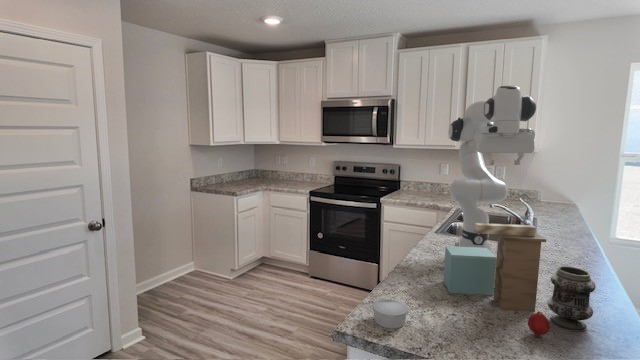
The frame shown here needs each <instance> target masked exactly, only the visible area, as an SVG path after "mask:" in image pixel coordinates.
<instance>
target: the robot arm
mask: <svg viewBox="0 0 640 360" xmlns="http://www.w3.org/2000/svg"><path fill="white" fill-rule="evenodd" d="M536 111H537V103H536V101H535V100H534V99H533V98H532V97H531V96H530V95H521V89H520V87H519V86H517V85H500V86H498V87H497V89H496V91H495V94H494V95H493V96H492V97H489V98H488V99H487V100H478V101H476V102H473V103H471V104H470V105H469V106H468V107H467V108H466V110H465V112H464V117H463V118H461V117H458V118H457V119H456V120H454V121H453V122H451V123H450V125H449V127H448V135H449V138H450V141H452V142H463V143H461V145H460V146H459V152H458V153H459V155H458V156H459V163H460V168H461V173H462V175H463V177H464V178H462V179H456V180H453V181H452V182H451V184H450V186H449V195H450V197H451V199H452V200H454V201H455V202H457V204H459V207H460V209H461V211H462V215H463V226H462V230H461V234H460V235H461V236H460V237H459V238H458V239H457V241H454V246H457V247H478V248H487V249H488V250H490V251H491V252H492V243H491V242H490V241H489V238H490V234H477V233H476V232H475V223H488V224H490V223H489V222H490V216H489V214H488V213H487V212H486V211H484V210H482V209H481V208H479V207H478V203H485V204H486V203H490V204H491V203H492V204H494V203H499V202H503V201H505V199H506V198H507V196H508V193H509V192H508V186H507V184H506V183H505V182H504V181H502V180H500V179H498V178H497V177H496V176H494V175H493V174H492V173H491V172H490V171H489V170H488V169H487V167H486V166H487V165H486V163H485V160H484V155H483V154H485V156H486V158H487V160H488V165H489V166H494V165H495V160H494V159H492V157H491V156H492V154H517V156H518V157H517V159H514V161H513V162H514V163H513V165H515V166H521V161H522V160H523V158H524V156H525V154H533V152H535V148H536V147H535V136H536V133H535V131H534V130H533V129H531V128H520V125H521V124H520V123H521V122H527V121H529V120H530V119H531V118H532V117H534V115H535V113H536Z"/></svg>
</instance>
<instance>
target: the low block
mask: <svg viewBox="0 0 640 360" xmlns="http://www.w3.org/2000/svg"><path fill="white" fill-rule="evenodd" d="M444 250H445V252H444V268H443V269H444V270H443V284H445V286H446V289H447V291H448V292H449V294H464V295H465V294H466V295H478V296H479V295H480V296H481V295H482V296H494V284H495V271H496V258H497V255H495V254H494V253H493V252H492V250H491V251H490V250H488V249H487V248H478V247H457V246H455V245H454V246H452V245H445V249H444Z"/></svg>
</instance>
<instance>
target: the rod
mask: <svg viewBox="0 0 640 360" xmlns="http://www.w3.org/2000/svg"><path fill="white" fill-rule="evenodd" d="M536 230H537V227H536V226H534V225H533V224H531V225H530V224H510V223H506V224H504V223H489V224H488V223H475V232H476V233H477V234H489V235H497V234H499V235H522V236H535V233H536Z"/></svg>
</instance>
